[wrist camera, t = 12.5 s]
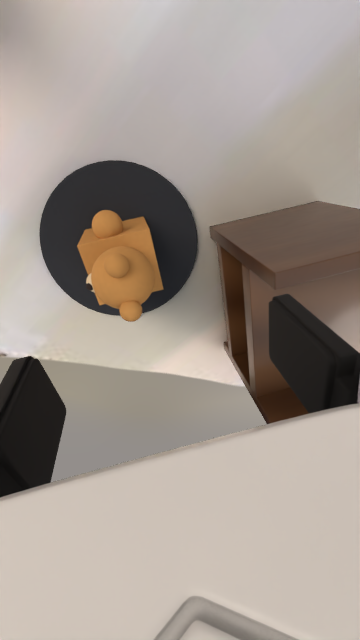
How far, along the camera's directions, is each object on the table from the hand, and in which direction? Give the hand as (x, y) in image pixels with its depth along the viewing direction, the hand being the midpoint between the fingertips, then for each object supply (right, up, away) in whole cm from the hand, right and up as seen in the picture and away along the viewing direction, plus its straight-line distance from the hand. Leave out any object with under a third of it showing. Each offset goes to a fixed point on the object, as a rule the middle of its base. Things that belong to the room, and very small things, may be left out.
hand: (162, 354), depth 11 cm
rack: (+11, +6, +22) cm, 25 cm away
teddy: (-5, +8, +16) cm, 19 cm away
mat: (-5, +9, +17) cm, 19 cm away
